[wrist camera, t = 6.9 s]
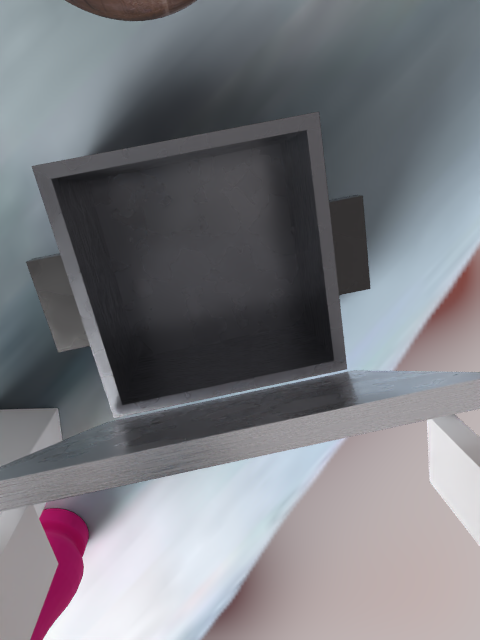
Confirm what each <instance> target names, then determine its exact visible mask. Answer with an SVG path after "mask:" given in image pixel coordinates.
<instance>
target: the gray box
mask: <svg viewBox="0 0 480 640" xmlns="http://www.w3.org/2000/svg"><path fill="white" fill-rule="evenodd" d="M32 169H33V172H34V175H35V178H36V181H37V184H38V187H39V190H40V193H41V196H42V200H43V203H44V206H45V209H46V212H47V215H48V218H49V221H50V224H51V227H52V230H53V233H54V236H55V239H56V242H57V246H58V249H59V252H60V253H59V254H54V255H49V256H44V257H39V258H34V259H32V260H29V261H27V262H26V263H27V266H28V269H29V271H30V274H31V277H32V280H33V283H34V286H35V288H36V291H37V294H38V297H39V300H40V302H41V305H42V308H43V311H44V314H45V317H46V319H47V322H48V325H49V328H50V331H51V333H52V336H53V339H54V342H55V345H56V347H57V350H58V352H63V351H68V350H72V349H77V348H82V347H87V346H90V347H91V350H92V353H93V356H94V359H95V362H96V365H97V368H98V371H99V374H100V377H101V380H102V384H103V387H104V390H105V393H106V396H107V399H108V402H109V405H110V408H111V411H112V414H113V417H114V418H117V417H122V416H126V415H131V414H136V413H141V412H145V411H150V410H155V409H160V408H164V407H169V406H174V405H179V404H183V403H188V402H193V401H198V400H203V399H207V398H212V397H217V396H222V395H226V394H231V393H236V392H241V391H245V390H250V389H255V388H260V387H264V386H269V385H274V384H279V383H283V382H288V381H293V380H298V379H302V378H307V377H312V376H317V375H321V374H326V373H331V372H336V371H341V370H345V369H347V364H346V355H345V346H344V337H343V327H342V318H341V309H340V300H339V295H342V294H346V293H351V292H356V291H361V290H366V289H370V278H369V266H368V254H367V242H366V230H365V218H364V206H363V196H362V195H354V196H349V197H343V198H338V199H333V200H329V199H328V190H327V181H326V171H325V162H324V153H323V144H322V135H321V125H320V116H319V112H314V113H309V114H304V115H299V116H293V117H288V118H283V119H278V120H272V121H267V122H262V123H257V124H251V125H246V126H241V127H236V128H230V129H225V130H220V131H214V132H209V133H204V134H199V135H193V136H188V137H183V138H178V139H172V140H167V141H162V142H157V143H151V144H146V145H141V146H136V147H130V148H125V149H120V150H115V151H109V152H104V153H99V154H93V155H88V156H83V157H78V158H72V159H67V160H62V161H57V162H51V163H46V164H41V165H36V166H32Z"/></svg>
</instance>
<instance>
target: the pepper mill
mask: <svg viewBox="0 0 480 640" xmlns="http://www.w3.org/2000/svg"><path fill="white" fill-rule="evenodd" d="M39 520H40V522H41V524H42V527H43V529H44V531H45V534H46V536H47V538H48V541H49V543H50V545H51V548H52V550H53V552H54V554H55V557H56V559H57V561H58V566H57V569H56V572H55V574H54V577H53V580H52V582H51V585H50V588H49V591H48V593H47V596H46V599H45V601H44V604H43V607H42V609H41V612H40V615H39V617H38V620H37V623H36V625H35V628H34V631H33V634H32V636H31V639H30V640H43V638H44V636H45V635H46V633H47V631H48V630H49V628H50V627H51V626H52V624H53V623H54V622H55V620H56V619H57V618H58V617H59V616H60V614H61V613H62V612H63V611H64V610H65V608H66V607H67V606H68V604H69V603H70V601H71V600H72V598H73V596H74V595H75V593H76V591H77V589H78V587H79V584H80V582H81V579H82V576H83V569H84V566H83V560H82V556H83V554H84V551H85V548H86V545H87V542H88V538H89V532H88V528H87V526H86V524H85V522H84V521H83V520H82V519H81V517H79V516H78V515H76V514H75V513H73V512H70V511H68V510H65V509H58V508H50V509H46V510H43V511H42V514H41V516H40V518H39Z"/></svg>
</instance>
